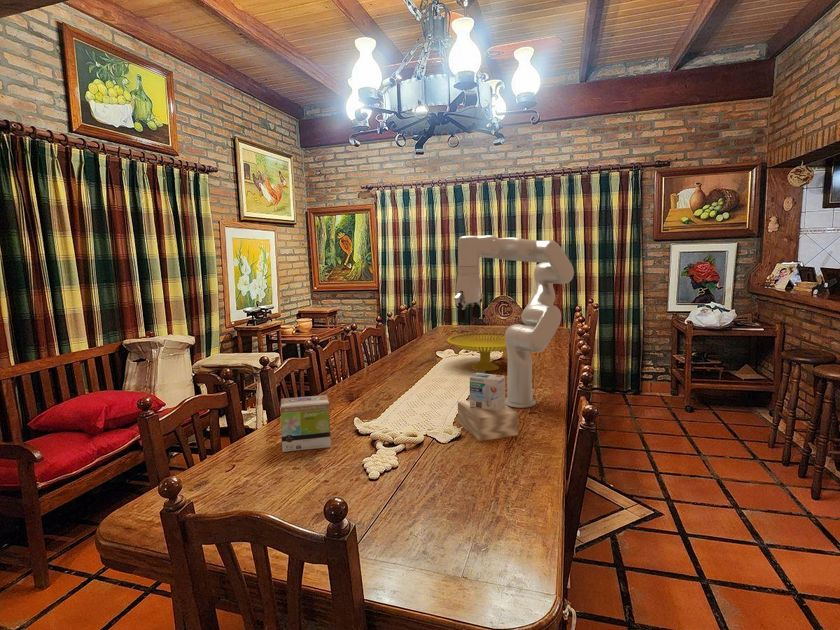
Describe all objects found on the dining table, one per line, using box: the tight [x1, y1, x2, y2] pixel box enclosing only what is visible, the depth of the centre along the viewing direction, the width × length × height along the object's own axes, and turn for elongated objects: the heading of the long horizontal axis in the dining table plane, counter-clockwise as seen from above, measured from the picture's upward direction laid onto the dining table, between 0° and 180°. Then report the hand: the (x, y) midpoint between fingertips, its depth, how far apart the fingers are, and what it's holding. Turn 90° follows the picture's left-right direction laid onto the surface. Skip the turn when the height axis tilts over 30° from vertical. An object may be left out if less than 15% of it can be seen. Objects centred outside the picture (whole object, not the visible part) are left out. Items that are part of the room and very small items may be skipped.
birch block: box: [457, 399, 519, 442], centre depth 162 cm, size 14×18×8 cm
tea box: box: [280, 394, 332, 453], centre depth 151 cm, size 15×10×15 cm
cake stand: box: [445, 332, 507, 372], centre depth 246 cm, size 40×40×15 cm
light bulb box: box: [469, 372, 506, 412], centre depth 161 cm, size 11×7×11 cm, turn 60°
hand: (469, 319), depth 170 cm, fingers open, 9 cm apart
